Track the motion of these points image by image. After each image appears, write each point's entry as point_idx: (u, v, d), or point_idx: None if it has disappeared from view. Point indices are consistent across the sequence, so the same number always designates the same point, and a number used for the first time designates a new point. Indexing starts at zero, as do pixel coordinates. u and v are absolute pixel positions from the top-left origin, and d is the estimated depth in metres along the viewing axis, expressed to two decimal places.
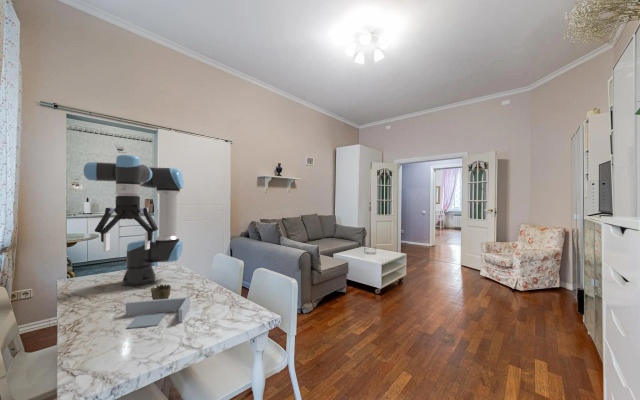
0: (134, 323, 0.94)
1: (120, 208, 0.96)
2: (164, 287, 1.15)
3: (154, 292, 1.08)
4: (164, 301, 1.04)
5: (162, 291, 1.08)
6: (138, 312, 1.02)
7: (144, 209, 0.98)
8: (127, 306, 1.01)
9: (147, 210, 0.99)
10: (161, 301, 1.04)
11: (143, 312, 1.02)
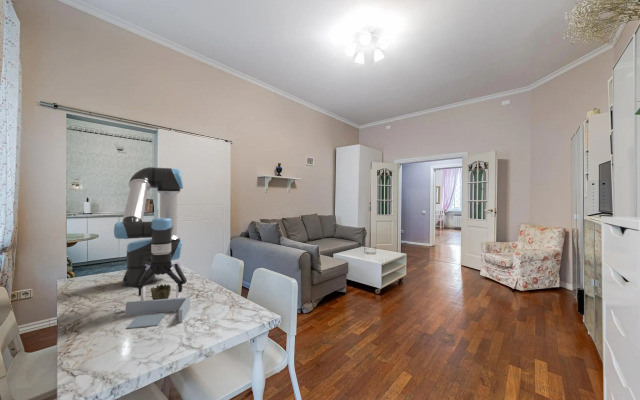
0: (134, 323, 0.94)
1: (155, 265, 1.09)
2: (164, 287, 1.15)
3: (154, 292, 1.08)
4: (164, 301, 1.04)
5: (162, 291, 1.08)
6: (138, 312, 1.02)
7: (175, 265, 1.11)
8: (127, 306, 1.01)
9: (178, 265, 1.12)
10: (161, 301, 1.04)
11: (143, 312, 1.02)
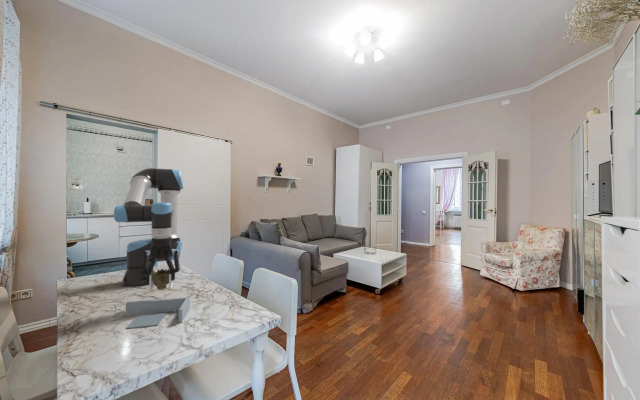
0: (134, 323, 0.94)
1: (154, 248, 1.10)
2: (165, 271, 1.15)
3: (155, 276, 1.08)
4: (164, 301, 1.04)
5: (163, 275, 1.09)
6: (138, 312, 1.02)
7: (175, 251, 1.12)
8: (127, 306, 1.01)
9: (177, 252, 1.13)
10: (161, 301, 1.04)
11: (143, 312, 1.02)
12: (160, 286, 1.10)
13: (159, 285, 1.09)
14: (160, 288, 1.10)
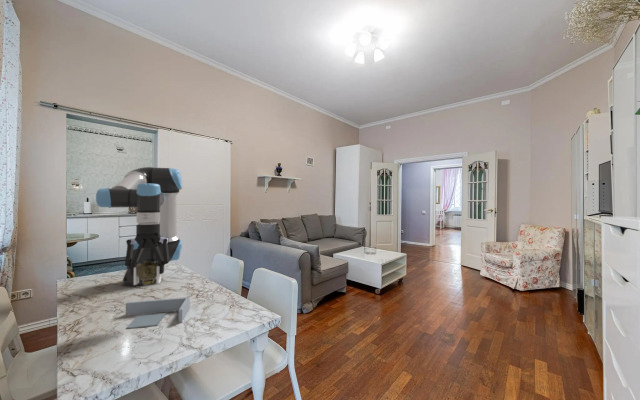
0: (134, 323, 0.94)
1: (140, 236, 0.95)
2: (152, 264, 1.00)
3: (140, 268, 0.93)
4: (164, 301, 1.04)
5: (149, 267, 0.94)
6: (138, 312, 1.02)
7: (164, 240, 0.97)
8: (127, 306, 1.01)
9: (167, 241, 0.98)
10: (161, 301, 1.04)
11: (143, 312, 1.02)
12: (146, 280, 0.94)
13: (145, 279, 0.94)
14: (146, 282, 0.95)
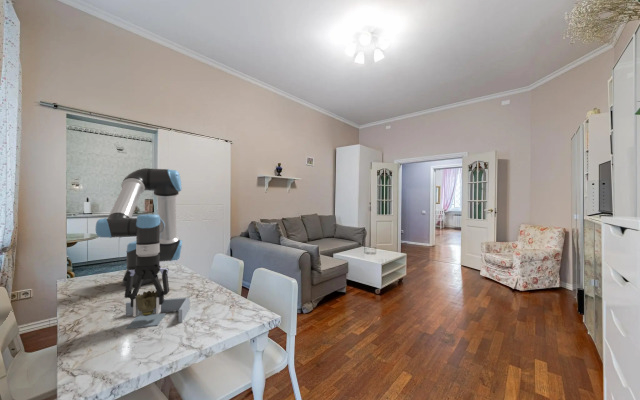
0: (134, 323, 0.94)
1: (139, 267, 0.95)
2: (152, 294, 1.00)
3: (139, 300, 0.93)
4: (164, 301, 1.04)
5: (149, 299, 0.94)
6: None
7: (164, 271, 0.97)
8: (127, 306, 1.01)
9: (166, 272, 0.98)
10: None
11: None
12: (146, 311, 0.95)
13: (145, 310, 0.94)
14: (146, 314, 0.95)
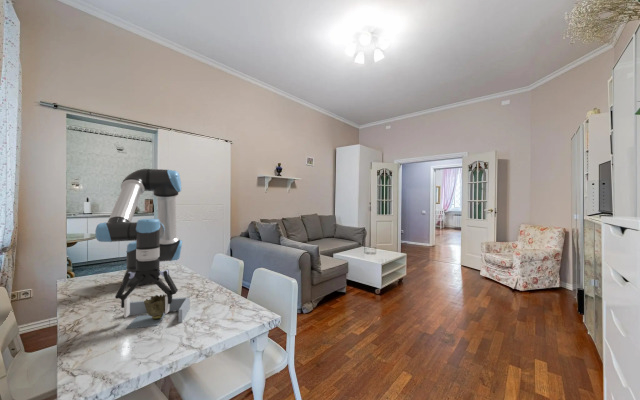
0: (134, 323, 0.94)
1: (140, 273, 0.95)
2: (160, 298, 1.01)
3: (148, 305, 0.94)
4: None
5: (157, 303, 0.95)
6: (138, 312, 1.02)
7: (164, 272, 0.97)
8: None
9: (167, 273, 0.98)
10: None
11: (143, 312, 1.02)
12: (155, 315, 0.96)
13: (154, 314, 0.95)
14: (156, 318, 0.96)
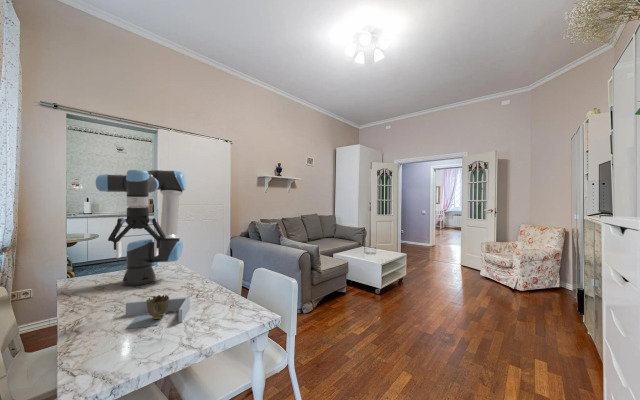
0: (134, 323, 0.94)
1: (131, 219, 1.04)
2: (162, 298, 1.01)
3: (150, 304, 0.94)
4: None
5: (159, 303, 0.95)
6: (138, 312, 1.02)
7: (153, 219, 1.07)
8: (127, 306, 1.01)
9: (156, 220, 1.08)
10: None
11: (143, 312, 1.02)
12: (156, 316, 0.96)
13: (155, 315, 0.95)
14: (156, 318, 0.96)
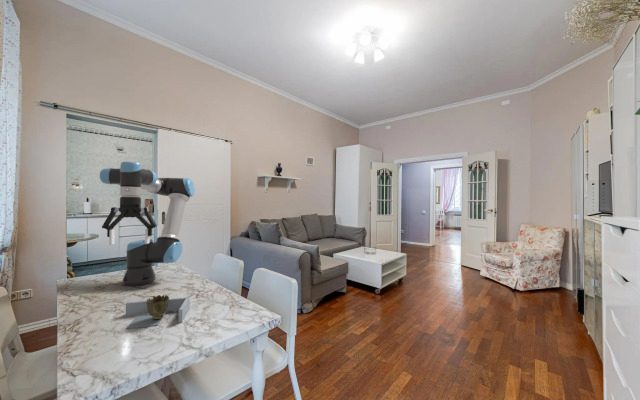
0: (134, 323, 0.94)
1: (124, 208, 1.11)
2: (162, 298, 1.01)
3: (150, 304, 0.94)
4: None
5: (159, 303, 0.95)
6: (138, 312, 1.02)
7: (144, 208, 1.13)
8: (127, 306, 1.01)
9: (147, 209, 1.14)
10: None
11: (143, 312, 1.02)
12: (156, 316, 0.96)
13: (155, 315, 0.95)
14: (156, 318, 0.96)
